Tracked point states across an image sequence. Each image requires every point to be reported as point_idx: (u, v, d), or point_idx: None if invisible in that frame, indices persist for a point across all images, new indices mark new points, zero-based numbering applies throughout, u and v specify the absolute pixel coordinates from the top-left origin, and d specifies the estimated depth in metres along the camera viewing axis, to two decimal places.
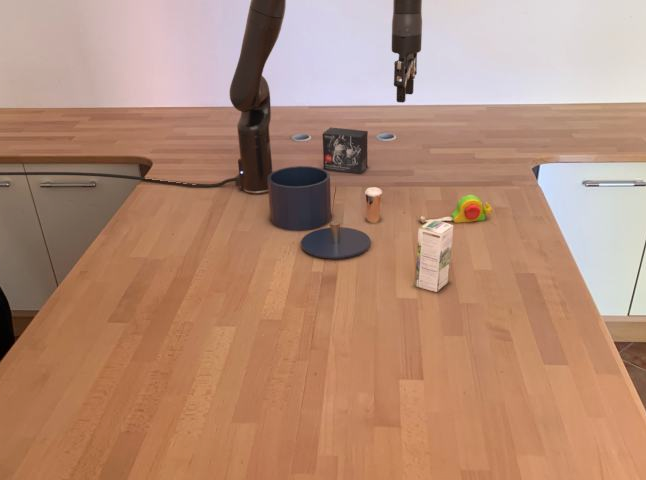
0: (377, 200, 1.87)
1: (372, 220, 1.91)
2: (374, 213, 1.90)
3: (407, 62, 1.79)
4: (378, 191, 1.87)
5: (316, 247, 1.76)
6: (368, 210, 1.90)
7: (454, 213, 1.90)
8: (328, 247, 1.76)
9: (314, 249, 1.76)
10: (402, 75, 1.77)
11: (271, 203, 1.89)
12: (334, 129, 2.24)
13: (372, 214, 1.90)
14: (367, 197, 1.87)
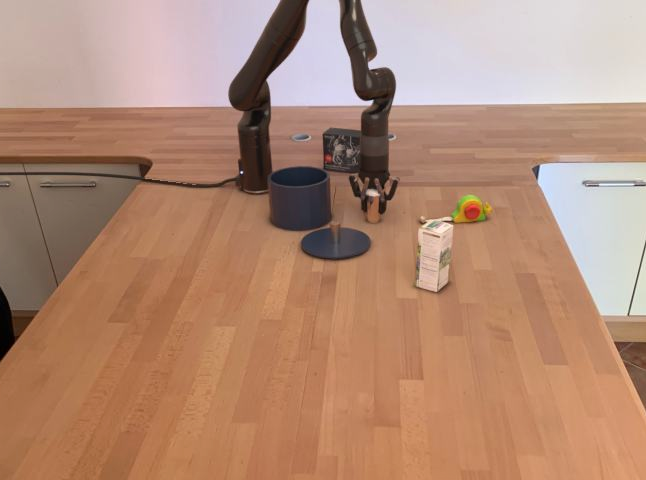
0: (378, 200, 1.87)
1: (372, 220, 1.91)
2: (374, 213, 1.90)
3: (363, 176, 1.86)
4: None
5: (316, 247, 1.76)
6: (368, 210, 1.90)
7: (454, 213, 1.90)
8: (328, 247, 1.76)
9: (314, 249, 1.76)
10: None
11: (271, 203, 1.89)
12: (334, 129, 2.24)
13: (372, 214, 1.90)
14: (367, 197, 1.87)
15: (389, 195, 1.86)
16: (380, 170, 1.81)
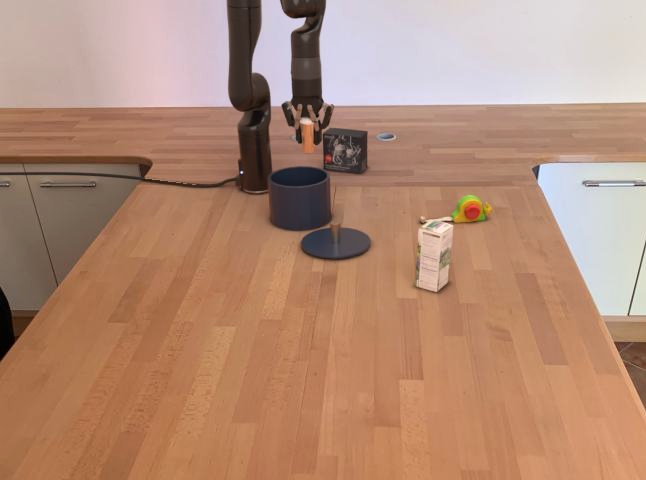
0: (312, 129, 1.80)
1: (307, 151, 1.83)
2: (309, 143, 1.82)
3: (296, 103, 1.78)
4: None
5: (316, 247, 1.76)
6: (303, 140, 1.82)
7: (454, 213, 1.90)
8: (328, 247, 1.76)
9: (314, 249, 1.76)
10: None
11: (271, 203, 1.89)
12: (334, 129, 2.24)
13: (307, 144, 1.82)
14: (301, 126, 1.80)
15: (323, 123, 1.78)
16: (312, 95, 1.74)
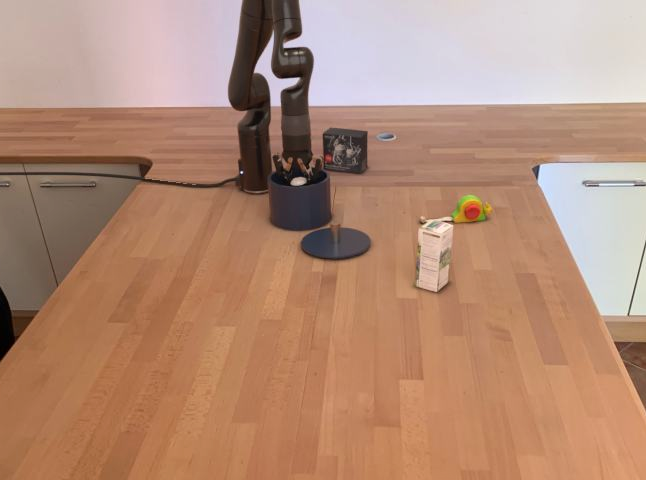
0: None
1: None
2: None
3: (286, 156, 1.86)
4: (303, 180, 1.88)
5: (316, 247, 1.76)
6: None
7: (454, 213, 1.90)
8: (328, 247, 1.76)
9: (314, 249, 1.76)
10: None
11: (271, 203, 1.89)
12: (334, 129, 2.24)
13: None
14: None
15: (314, 175, 1.86)
16: (302, 150, 1.81)
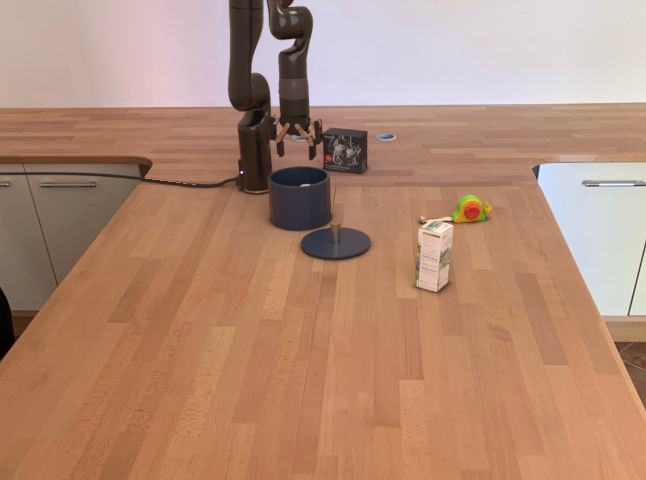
0: None
1: None
2: None
3: (283, 121, 1.80)
4: None
5: (316, 247, 1.76)
6: None
7: (454, 213, 1.90)
8: (328, 247, 1.76)
9: (314, 249, 1.76)
10: None
11: (271, 203, 1.89)
12: (334, 129, 2.24)
13: None
14: None
15: (316, 139, 1.80)
16: (299, 115, 1.76)
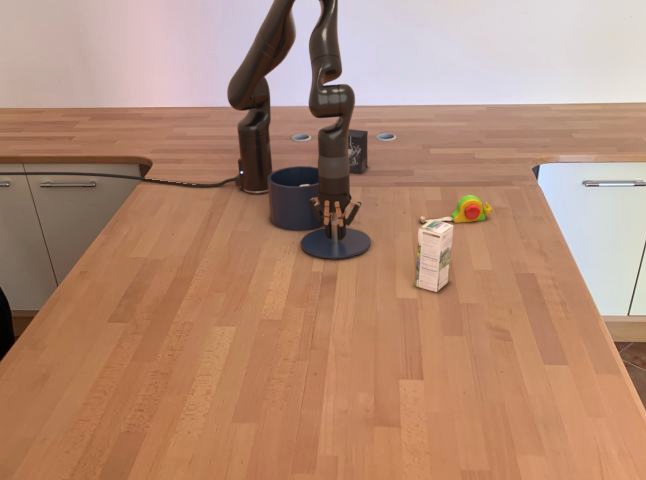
0: None
1: None
2: None
3: (322, 198, 1.73)
4: None
5: (316, 247, 1.76)
6: None
7: (454, 213, 1.90)
8: (328, 247, 1.76)
9: (314, 249, 1.76)
10: None
11: (271, 203, 1.89)
12: None
13: None
14: None
15: (348, 219, 1.73)
16: (340, 193, 1.69)
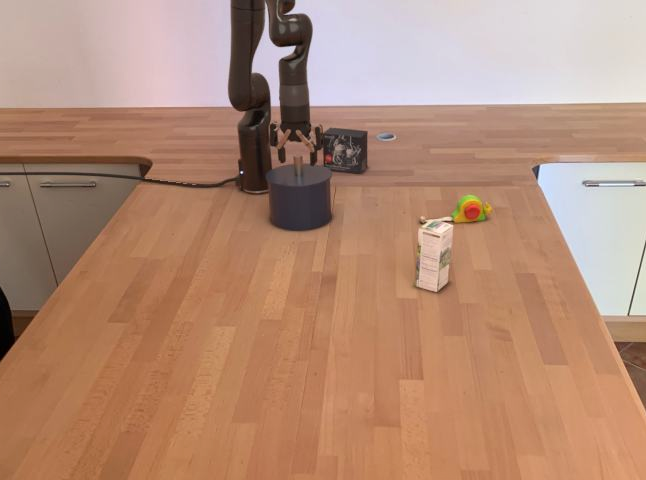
0: None
1: None
2: None
3: (284, 128, 1.82)
4: None
5: (280, 179, 1.85)
6: None
7: (454, 213, 1.90)
8: (291, 178, 1.85)
9: (277, 180, 1.85)
10: None
11: (271, 203, 1.89)
12: (334, 129, 2.24)
13: None
14: None
15: (317, 144, 1.81)
16: (300, 121, 1.77)
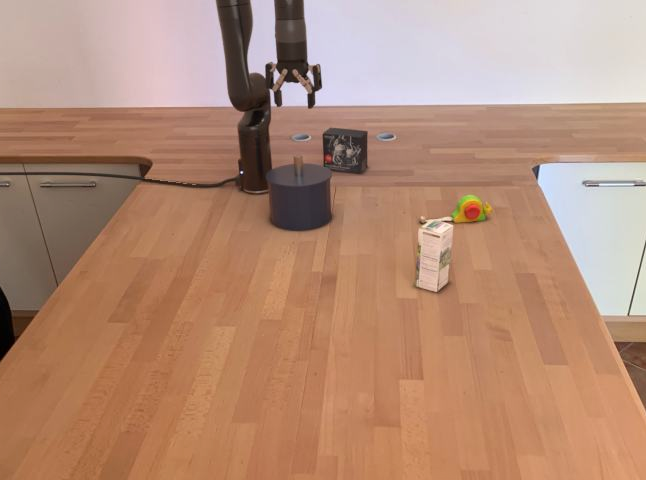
0: None
1: None
2: None
3: (281, 68, 1.74)
4: None
5: (280, 179, 1.85)
6: None
7: (454, 213, 1.90)
8: (291, 178, 1.85)
9: (277, 180, 1.85)
10: None
11: (271, 203, 1.89)
12: (334, 129, 2.24)
13: None
14: None
15: (315, 85, 1.73)
16: (297, 59, 1.69)
